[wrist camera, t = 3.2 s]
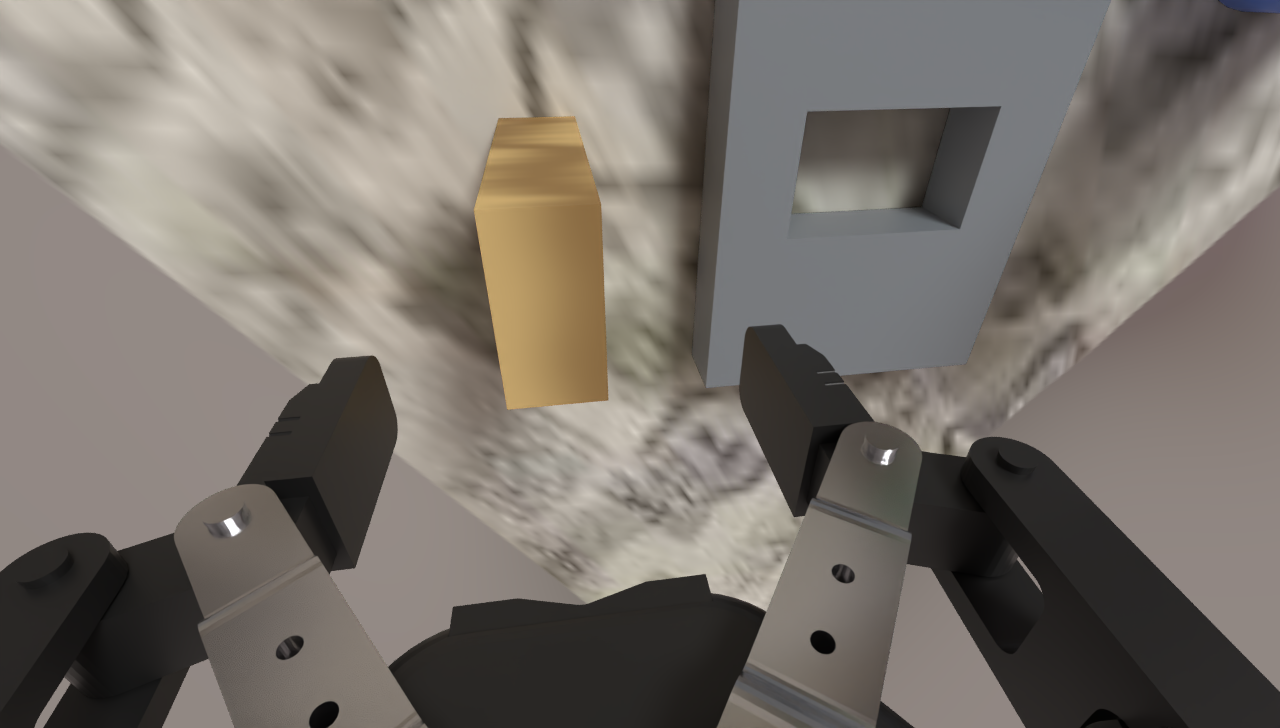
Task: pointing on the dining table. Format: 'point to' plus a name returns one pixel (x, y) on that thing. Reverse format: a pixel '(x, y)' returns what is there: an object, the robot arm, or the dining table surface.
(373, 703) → the robot arm
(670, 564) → the dining table surface
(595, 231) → the keyed peg
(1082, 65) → the keyed plate
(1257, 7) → the water bottle
